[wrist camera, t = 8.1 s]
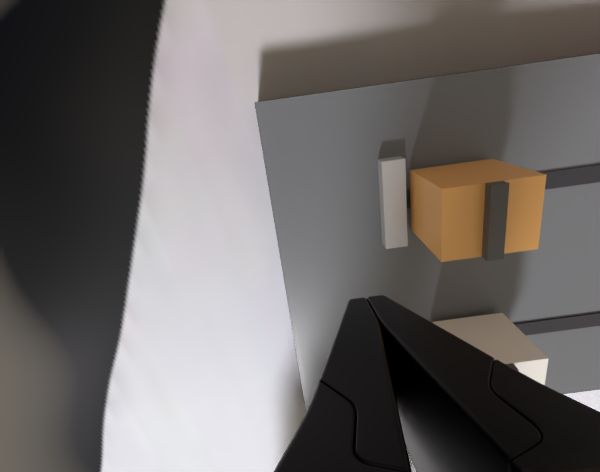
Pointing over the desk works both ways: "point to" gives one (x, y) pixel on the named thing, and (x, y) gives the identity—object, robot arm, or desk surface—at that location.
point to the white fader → (500, 342)
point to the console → (397, 206)
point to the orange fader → (477, 209)
